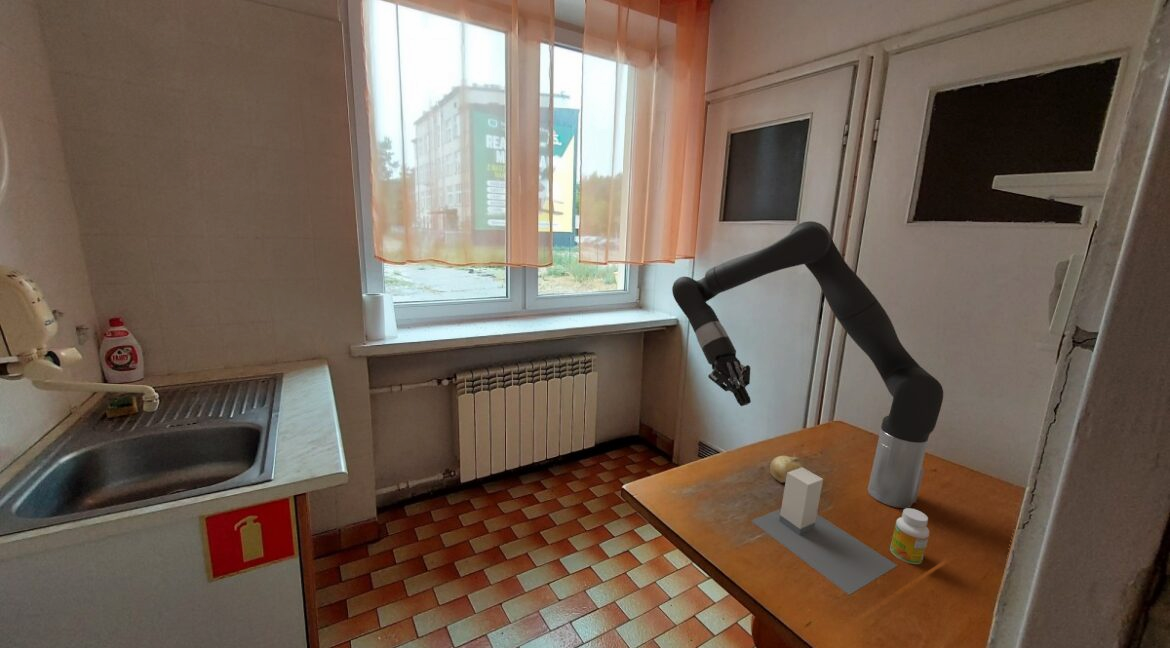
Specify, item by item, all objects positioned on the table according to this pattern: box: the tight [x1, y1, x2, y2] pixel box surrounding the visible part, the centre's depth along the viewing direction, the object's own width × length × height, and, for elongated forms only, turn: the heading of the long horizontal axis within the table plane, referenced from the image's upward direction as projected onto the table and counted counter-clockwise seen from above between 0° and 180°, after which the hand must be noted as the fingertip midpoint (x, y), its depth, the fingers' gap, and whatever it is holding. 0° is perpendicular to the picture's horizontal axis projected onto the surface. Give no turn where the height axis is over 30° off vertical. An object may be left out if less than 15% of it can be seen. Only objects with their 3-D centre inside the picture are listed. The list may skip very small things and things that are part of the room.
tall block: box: [779, 467, 824, 535], centre depth 95 cm, size 5×5×12 cm
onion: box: [769, 453, 804, 484], centre depth 114 cm, size 8×8×7 cm
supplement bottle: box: [889, 507, 930, 565], centre depth 88 cm, size 5×5×10 cm
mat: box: [750, 508, 898, 596], centre depth 91 cm, size 22×16×1 cm
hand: (746, 404), depth 106 cm, fingers closed
